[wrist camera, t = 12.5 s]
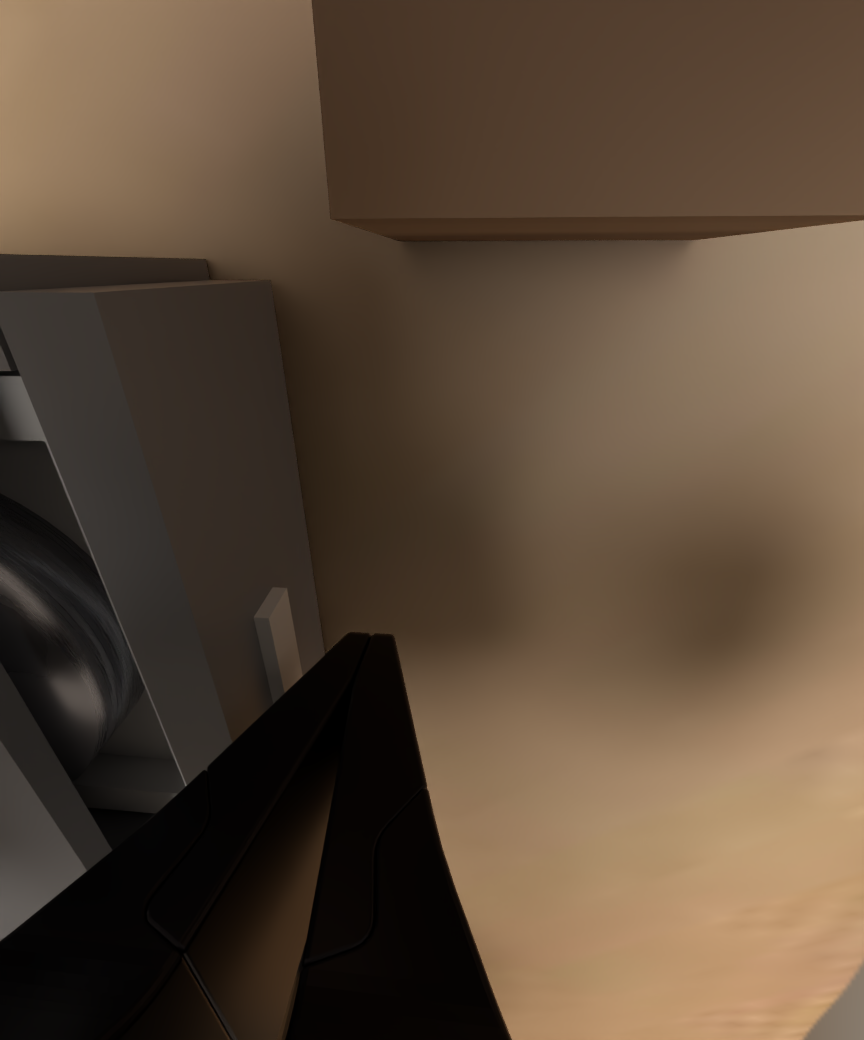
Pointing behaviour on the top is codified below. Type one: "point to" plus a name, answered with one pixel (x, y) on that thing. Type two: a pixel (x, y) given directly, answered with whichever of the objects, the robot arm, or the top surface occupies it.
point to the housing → (3, 714)
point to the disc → (62, 638)
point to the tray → (168, 504)
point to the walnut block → (591, 117)
